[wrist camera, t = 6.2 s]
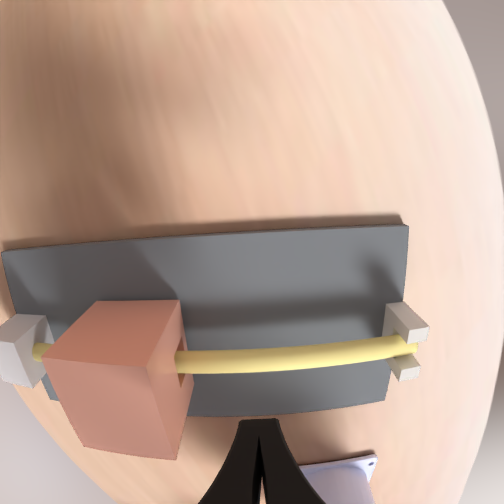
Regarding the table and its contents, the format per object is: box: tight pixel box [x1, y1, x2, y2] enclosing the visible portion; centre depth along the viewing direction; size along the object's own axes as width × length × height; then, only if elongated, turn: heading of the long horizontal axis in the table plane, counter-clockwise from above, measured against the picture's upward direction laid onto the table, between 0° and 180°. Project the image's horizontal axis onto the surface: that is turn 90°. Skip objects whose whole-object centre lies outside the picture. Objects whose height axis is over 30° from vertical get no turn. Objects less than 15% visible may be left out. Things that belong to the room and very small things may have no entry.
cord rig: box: [0, 224, 429, 417], centre depth 16 cm, size 12×25×4 cm, turn 93°
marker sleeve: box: [41, 300, 194, 460], centre depth 14 cm, size 6×5×6 cm
